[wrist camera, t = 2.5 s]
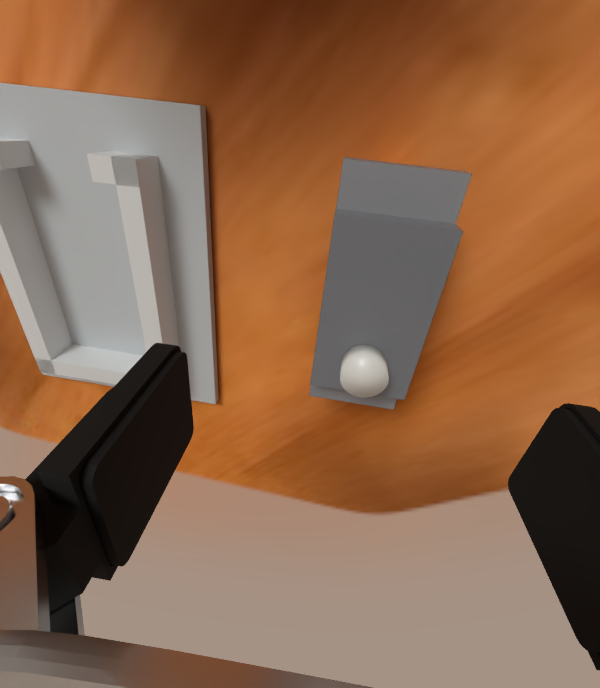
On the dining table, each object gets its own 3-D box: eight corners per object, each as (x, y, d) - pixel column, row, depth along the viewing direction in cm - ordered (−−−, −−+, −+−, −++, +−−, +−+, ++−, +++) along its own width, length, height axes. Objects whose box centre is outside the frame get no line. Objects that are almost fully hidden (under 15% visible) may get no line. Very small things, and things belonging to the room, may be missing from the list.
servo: (444, 162, 14) (492, 183, 9) (387, 360, 19) (397, 442, 14) (346, 151, 14) (340, 164, 9) (317, 349, 20) (303, 426, 15)
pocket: (205, 106, 14) (180, 102, 12) (218, 398, 23) (205, 424, 21) (-62, 75, 15) (-128, 68, 13) (49, 369, 24) (20, 391, 22)
